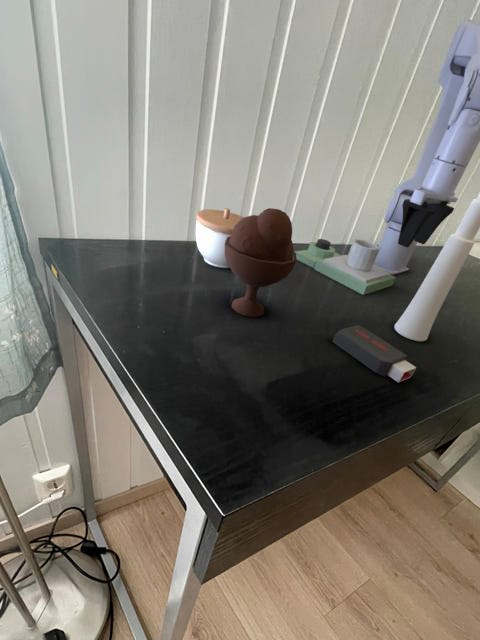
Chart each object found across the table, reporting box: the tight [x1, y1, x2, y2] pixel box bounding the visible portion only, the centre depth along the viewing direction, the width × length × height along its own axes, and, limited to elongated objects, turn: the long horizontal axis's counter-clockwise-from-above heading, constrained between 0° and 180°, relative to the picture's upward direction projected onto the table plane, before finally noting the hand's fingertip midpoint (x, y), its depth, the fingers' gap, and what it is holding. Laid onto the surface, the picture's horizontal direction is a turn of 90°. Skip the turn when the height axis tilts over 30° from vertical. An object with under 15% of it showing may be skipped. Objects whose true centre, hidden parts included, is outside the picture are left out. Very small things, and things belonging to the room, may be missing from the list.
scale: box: [313, 254, 396, 296], centre depth 83 cm, size 13×13×3 cm
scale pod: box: [294, 241, 343, 269], centre depth 87 cm, size 12×6×3 cm, turn 134°
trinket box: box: [195, 207, 245, 269], centre depth 71 cm, size 11×11×9 cm
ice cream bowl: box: [225, 207, 298, 318], centre depth 57 cm, size 11×11×15 cm
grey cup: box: [346, 238, 380, 271], centre depth 80 cm, size 6×6×4 cm
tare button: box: [316, 238, 331, 250], centre depth 85 cm, size 3×3×2 cm
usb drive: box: [332, 324, 417, 384], centre depth 56 cm, size 5×12×3 cm, turn 36°
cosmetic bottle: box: [393, 191, 480, 342], centre depth 60 cm, size 6×6×22 cm
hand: (411, 244), depth 75 cm, fingers open, 7 cm apart
